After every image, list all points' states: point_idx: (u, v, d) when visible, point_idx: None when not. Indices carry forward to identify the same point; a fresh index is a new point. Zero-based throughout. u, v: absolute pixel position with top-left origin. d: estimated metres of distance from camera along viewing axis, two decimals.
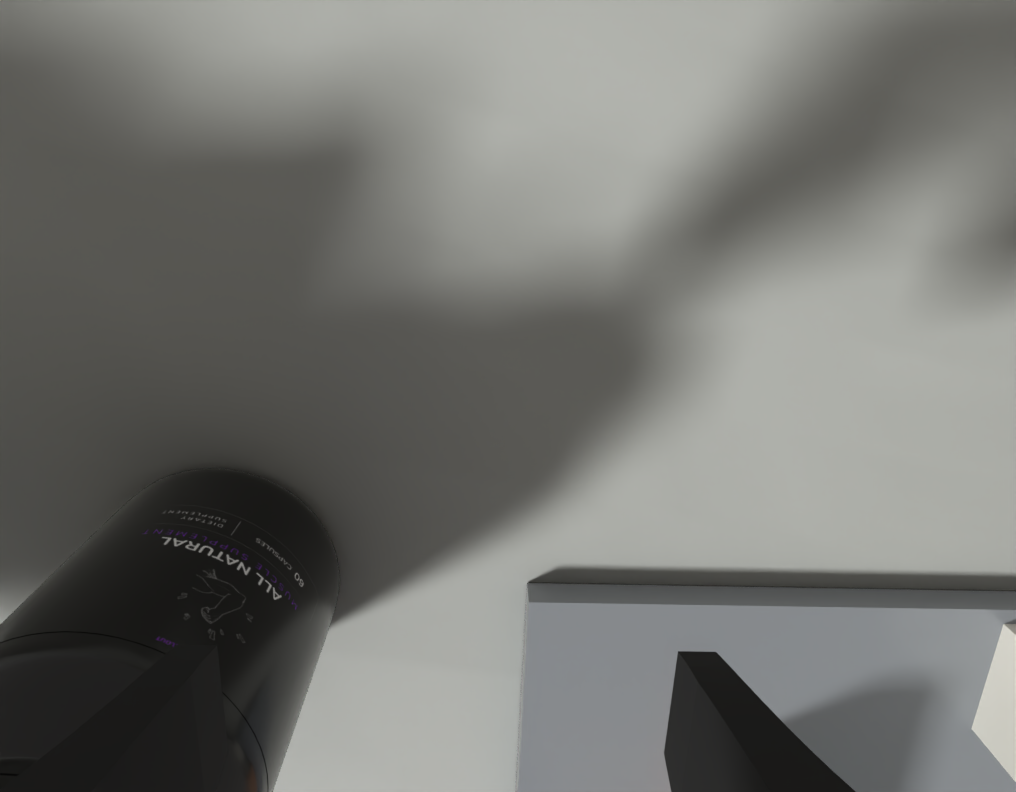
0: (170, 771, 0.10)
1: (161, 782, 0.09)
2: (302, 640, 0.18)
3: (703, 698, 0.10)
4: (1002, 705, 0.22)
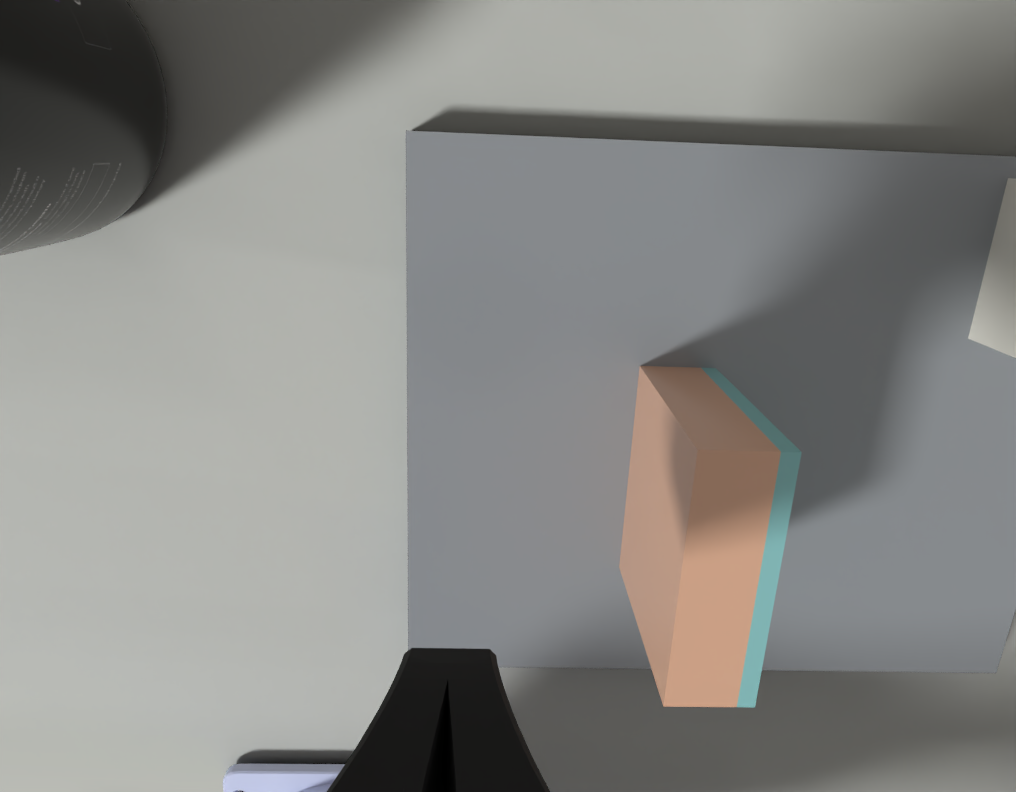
0: (439, 773, 0.10)
1: (437, 784, 0.10)
2: (61, 36, 0.13)
3: (449, 695, 0.10)
4: (1006, 279, 0.18)
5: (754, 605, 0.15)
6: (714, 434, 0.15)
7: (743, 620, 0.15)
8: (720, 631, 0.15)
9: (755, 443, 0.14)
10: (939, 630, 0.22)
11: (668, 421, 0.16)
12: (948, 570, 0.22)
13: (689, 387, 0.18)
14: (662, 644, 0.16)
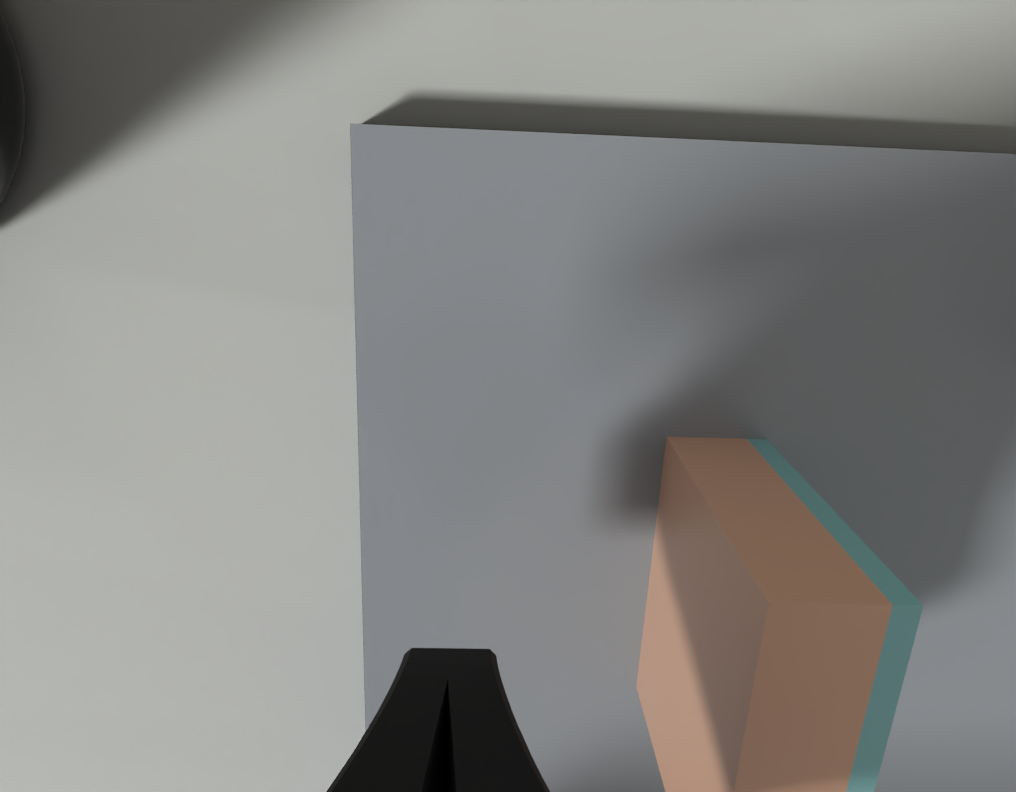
0: (439, 773, 0.10)
1: (437, 784, 0.10)
2: None
3: (448, 696, 0.10)
4: None
5: None
6: (788, 569, 0.10)
7: None
8: None
9: (851, 587, 0.10)
10: None
11: (713, 533, 0.12)
12: None
13: (737, 474, 0.13)
14: None
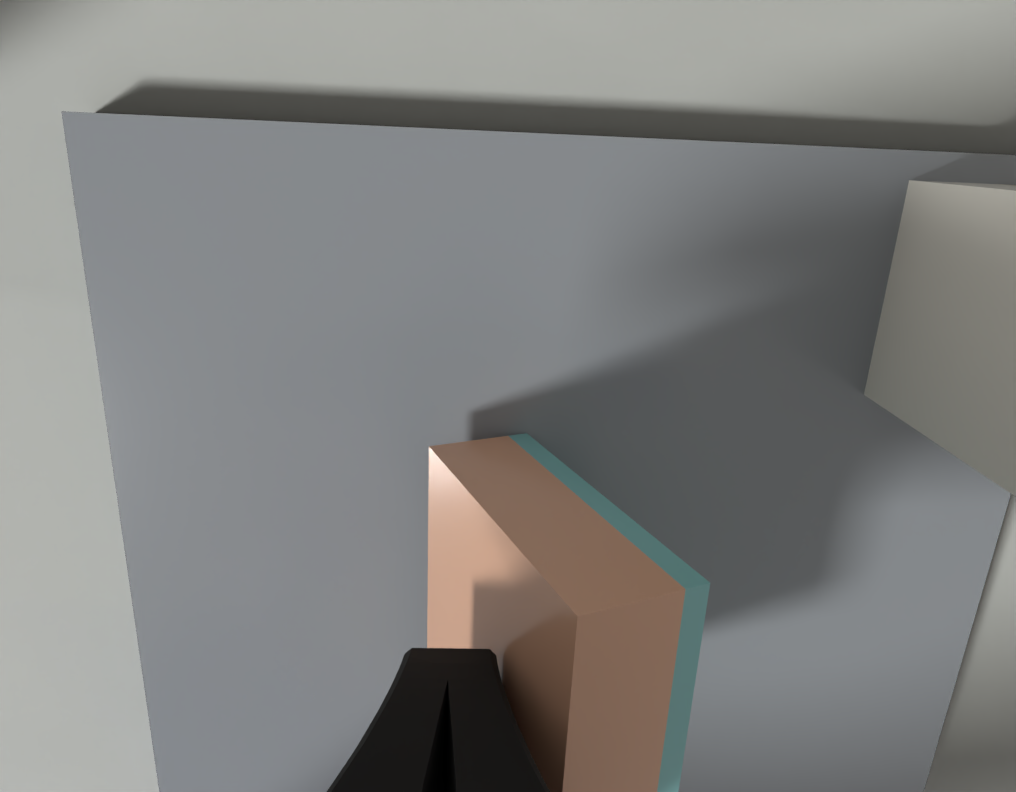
0: (439, 773, 0.10)
1: (437, 784, 0.10)
2: None
3: (448, 695, 0.10)
4: (906, 319, 0.13)
5: None
6: (585, 573, 0.10)
7: None
8: None
9: (645, 579, 0.10)
10: (843, 758, 0.17)
11: (501, 546, 0.11)
12: (852, 686, 0.17)
13: (509, 476, 0.12)
14: None
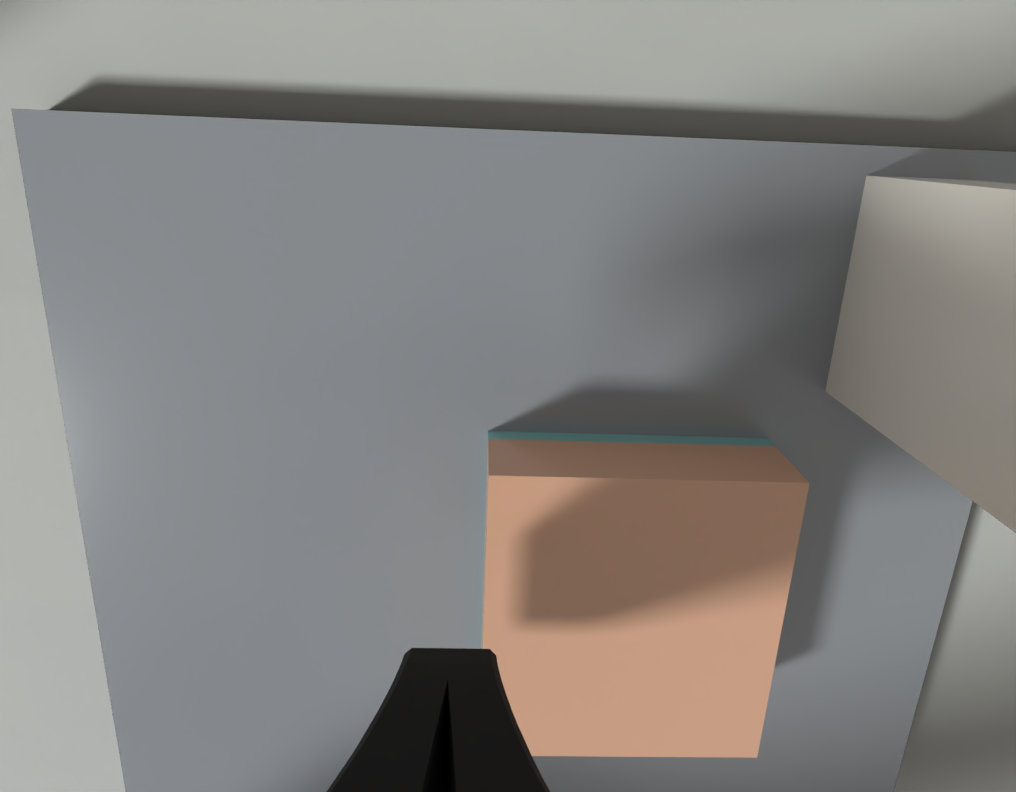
0: (439, 773, 0.10)
1: (437, 784, 0.10)
2: None
3: (448, 695, 0.10)
4: (864, 315, 0.13)
5: None
6: (753, 467, 0.13)
7: None
8: None
9: (762, 453, 0.14)
10: (812, 757, 0.17)
11: (677, 495, 0.13)
12: (819, 685, 0.17)
13: (581, 456, 0.13)
14: (731, 712, 0.14)
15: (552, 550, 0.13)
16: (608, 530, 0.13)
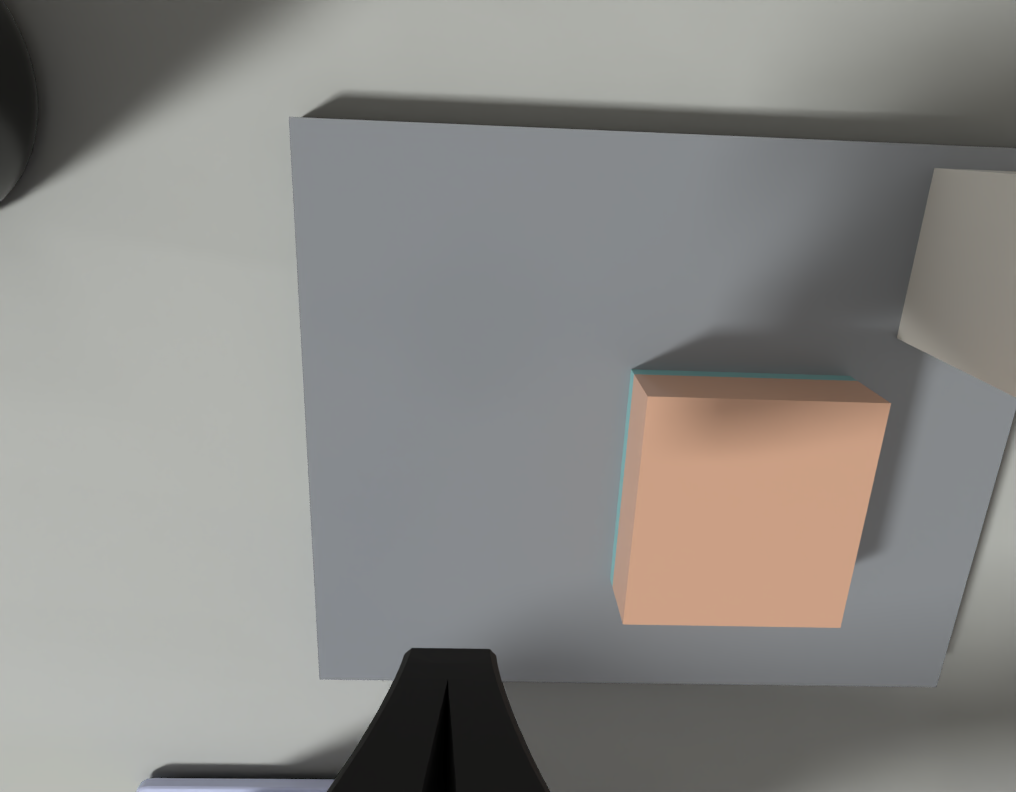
0: (439, 773, 0.10)
1: (437, 784, 0.10)
2: None
3: (448, 695, 0.10)
4: (932, 275, 0.17)
5: None
6: (845, 393, 0.17)
7: None
8: None
9: (849, 385, 0.18)
10: (875, 643, 0.21)
11: (790, 412, 0.17)
12: (883, 581, 0.21)
13: (711, 385, 0.17)
14: (822, 590, 0.18)
15: (691, 456, 0.17)
16: (735, 440, 0.17)
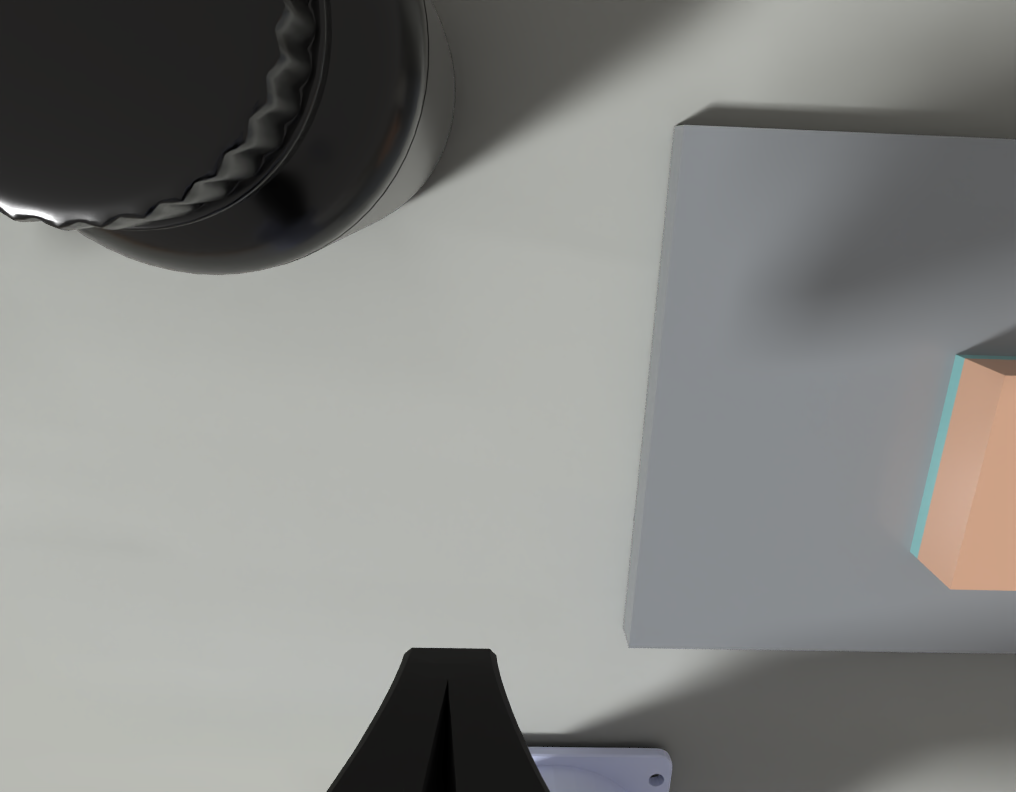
0: (439, 773, 0.10)
1: (436, 784, 0.10)
2: (440, 31, 0.14)
3: (448, 695, 0.10)
4: None
5: None
6: None
7: None
8: None
9: None
10: None
11: None
12: None
13: None
14: None
15: None
16: None
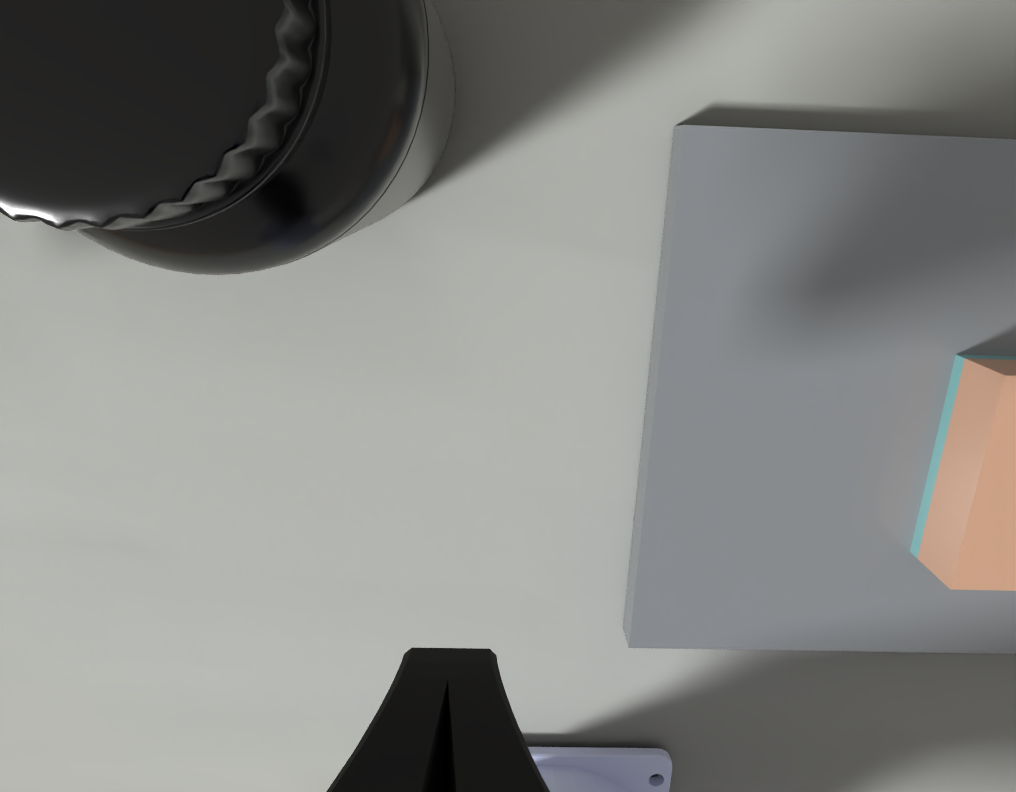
0: (439, 773, 0.10)
1: (436, 784, 0.10)
2: (440, 31, 0.14)
3: (448, 695, 0.10)
4: None
5: None
6: None
7: None
8: None
9: None
10: None
11: None
12: None
13: None
14: None
15: None
16: None
